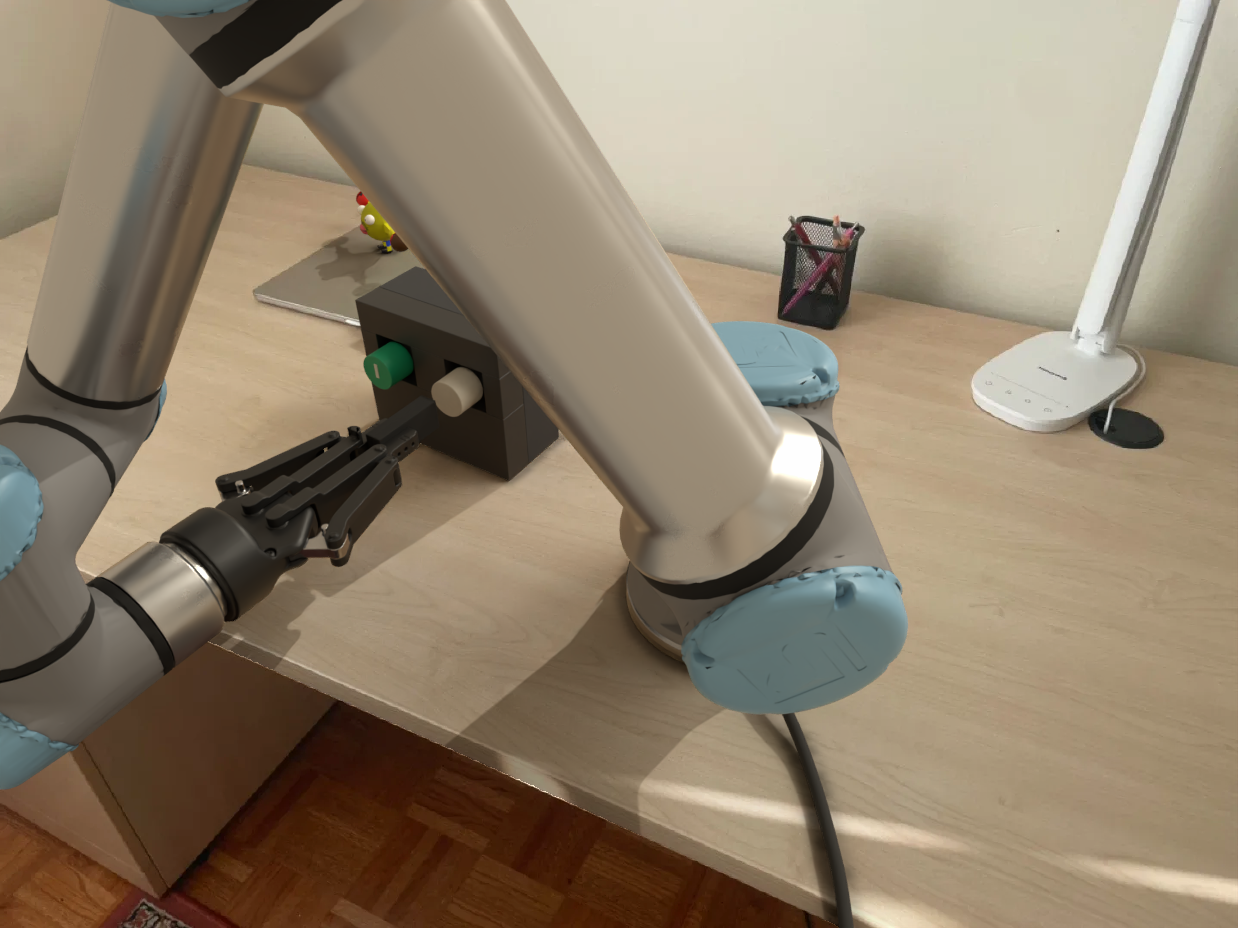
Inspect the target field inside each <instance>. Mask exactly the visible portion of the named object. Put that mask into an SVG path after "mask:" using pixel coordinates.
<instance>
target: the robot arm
mask: <svg viewBox="0 0 1238 928" xmlns="http://www.w3.org/2000/svg"><path fill="white" fill-rule="evenodd" d="M106 1H107V2H109V3H108V8H107V11H106V12H107V13H106V16H105V21H104V25H103V29H102V33H101V37H100V41H99V45H98V49H97V53H96V58H95V61H94V66H93V69H92V74H91V78H90V82H89V87H88V90H87V93H86V98H85V102H84V106H83V110H82V115H81V118H80V119H81V120H80V123H79V127H78V131H77V135H76V139H75V143H74V147H73V151H72V155H71V160H70V163H69V168H68V172H67V176H66V179H65V184H64V188H63V191H62V196H61V201H60V203H59V204H60V205H59V208H58V213H57V217H56V220H55V224H54V228H53V233H52V237H51V241H50V245H49V249H48V253H47V258H46V262H45V264H44V265H45V266H44V269H43V274H42V278H41V281H40V286H39V290H38V295H37V298H36V302H35V306H34V311H33V315H32V319H31V323H30V327H29V331H28V336H27V340H26V350H25V352H24V354H23V358H22V362H21V366H20V370H19V373H18V377H17V382H16V385H15V387H14V390H13V392H12V395H11V397H10V398H9V400H8V402H6V404H5V406H3V408H2V409H1V410H0V790H11V789H13V788H17V787H18V786H20V785H22V784H24V783H26V782H27V781H28V780H30V779H31V778H33V777H34V776H36V775H37V774H39V773H40V772H42V771H43V770H45V769H46V768H48V767H49V766H51V765H52V764H53V763H55V762H57V761H58V760H59V759H61V758H62V757H63V756H65V755H66V754H68V753H69V752H74V751H75V750H76V749H77V748H78V747H79V746H80V744H81V743H82V742H83V741H85V739H86V738H88V737H90V735H91V734H93V733H94V732H95V731H97V730H98V729H99V728H100V727H101V726H103V725H104V724H105V723H106V722H108V721H109V720H110V719H112V718H113V717H114V716H115V715H116V714H118V713H119V712H121V710H123V709H124V708H125V707H126V706H128V705H130V703H132V702H133V701H134V700H135V699H137V698H138V697H139V696H141V695H142V694H143V693H144V692H145V691H147V690H148V689H149V688H151V686H153V685H154V684H156V683H157V682H158V681H159V680H160V679H162V678H163V677H164V676H166V675H167V674H168V673H170V672H171V671H172V670H173V669H175V668H176V667H178V666H179V665H180V664H181V663H183V662H184V661H185V660H187V658H190V656H191V655H193V654H194V653H195V652H196V651H198V650H199V649H200V648H202V647H203V646H205V645H206V644H207V643H208V642H209V641H211V640H212V639H213V638H215V637H216V636H217V635H219V634H220V633H221V632H223V629H224V626H225V623H227V622H228V623H229V622H231V623H232V622H236V621H238V619H240V618H241V617H242V616H243V615H245V614H246V613H247V612H249V611H250V610H251V609H252V608H254V607H255V606H256V605H258V604H259V603H260V602H262V601H263V600H264V599H265V598H267V597H268V596H269V595H270V594H271V593H272V591H273V590H274V588H275V586H276V584H277V582H278V580H279V579H280V577H282V575H284V574H285V573H286V572H289V571H291V570H294V569H297V568H300V567H301V566H303V565H305V564H306V563H307V561H309V559H329V560H330V564H331V565H332V566H333V567H334V568H335V567H336V568H341V567H344V566H346V565H347V564H348V563H349V561H350V558H351V554H352V551H353V547H354V544H356V542H357V541H358V540H359V538H360V537H362V535H363V534H364V533H365V532H366V530H367V529H368V528H369V526H371V524H372V523H373V522H374V520H375V519H376V518H377V517H378V516H379V514H381V512H382V511H383V510H384V509H385V507H386V506H387V505H388V504H389V502H390V501H392V499H393V498H394V496H395V495H396V494H397V493H398V492H399V491H400V489H401V488H402V487H403V479H402V473H401V469H400V462H402V461H403V460H404V459H406V458H407V457H408V456H409V455H411V454H412V453H414V452H415V451H416V450H417V449H418V448H419V447H420V443H419V442H420V441H421V440H423V439H424V438H425V437H427V436H428V435H429V434H431V433H432V432H433V431H435V430H436V429H437V428H439V422H438V415H437V408H436V402H435V400H433V399H430V398H428V397H425V396H423V395H421V396H420V397H418V398H417V399H416V400H414V401H413V402H411V403H410V404H408V405H407V406H406V407H404V408H403V409H401V410H400V411H398V412H397V413H395V414H394V415H393V416H391V417H390V418H388V419H387V418H385V419H382V420H379V419H378V421H377V422H375V423H373V424H372V425H371V426H369V427H368V428H366V429H365V430H364V431H362V430H361V427H360V426H359V425H349V426H348V427H347V428H346V429H347V434H348V435H347V436H342V435H341V433H340V432H339V431H338V430H333V429H332V430H329V431H326V432H324V433H322V434H320V435H318V436H315V437H313V438H311V439H309V440H307V441H304V442H302V443H300V444H298V445H296V446H294V447H291V448H289V449H287V450H285V451H282V452H280V453H278V454H276V455H274V456H272V457H269V458H268V459H265V460H264V461H261V462H259V463H256V464H255V465H252V466H250V467H248V468H246V469H241V470H237V471H233V472H228V473H225V474H220V475H219V476H217V477H216V478H215V480H214V482H215V483H214V484H215V486H216V488H217V491H218V493H219V494H218V495H219V497H220V500H221V501H220V503H217V505H215V507H212V506H205V507H201V508H198V509H197V510H196V511H194V512H193V513H191V514H189V515H188V516H186V517H185V518H183V519H182V520H180V521H179V522H177V523H176V524H174V525H172V526H171V527H170V528H167V530H165V531H163V532H162V533H161V534H160V536H159V540H158V542H157V541H147V542H146V543H143V544H142V545H141V546H139V547H138V548H136V549H135V550H134V551H132V552H131V553H129V554H128V555H126V556H124V557H123V558H121V559H120V560H119V561H117V562H115V563H114V564H113V565H111V566H110V567H108V568H107V569H105V570H103V571H102V572H101V573H99V574H98V575H97V576H95V577H94V578H93V579H91V580H89V581H88V582H87V583H86V582H85V580H84V578H83V576H82V574H81V571H80V570H79V568H78V565H77V561H76V559H77V554H78V552H79V551H80V549H81V547H82V545H83V544H84V543H85V540H86V539H87V537H88V536H89V534H90V532H91V531H92V529H93V528H94V526H95V524H96V523H97V520H98V519H99V517H100V516H101V514H102V512H103V511H104V509H105V507H106V506H107V504H108V502H109V500H110V499H111V498H112V496H113V494H114V492H115V489H116V487H117V486H118V484H119V482H120V481H121V479H122V478H123V476H124V474H125V473H126V471H127V470H128V468H129V466H130V465H131V463H132V461H133V459H134V458H135V457H136V455H137V454H138V452H139V450H140V449H141V447H142V446H143V444H144V442H146V441H147V440H149V438H150V437H151V435H152V434H153V432H154V429H155V428H156V425H157V423H158V421H159V419H160V417H161V414H162V411H163V407H164V405H165V403H166V400H167V396H168V386H167V381H166V376H167V372H168V371H169V367H170V365H171V362H172V359H173V356H174V354H175V351H176V348H177V345H178V343H179V340H180V337H181V334H182V331H183V329H184V325H185V323H186V320H187V319H188V315H189V312H190V309H191V306H192V304H193V300H194V298H195V296H196V293H197V290H198V288H199V285H200V282H201V279H202V276H203V273H204V270H205V268H206V265H207V262H208V260H209V258H210V254H211V252H212V248H213V246H214V243H215V240H216V237H217V234H218V233H219V229H220V227H221V224H222V221H223V218H224V215H225V213H226V211H227V208H228V205H229V202H230V199H231V197H232V193H233V191H234V188H235V185H236V182H237V180H238V177H239V174H240V172H241V169H242V166H243V163H244V160H245V158H246V154H247V152H248V150H249V147H250V144H251V141H252V139H253V135H254V133H255V131H256V128H257V125H258V122H259V119H260V117H261V115H262V111H263V108H264V105H268V106H273V107H279V108H285V109H286V110H288V111H289V112H291V113H292V114H293V115H294V116H296V117H298V118H299V119H300V121H302V122H303V124H304V125H305V126H306V128H307V129H308V130H309V131H310V132H311V133H312V135H313V136H314V137H315V138H316V139H317V140H318V142H320V144H321V146H323V148H324V149H325V151H327V152H328V154H329V155H330V156H331V158H333V160H334V161H335V162H336V164H337V165H338V166H339V167H340V168H341V170H342V171H344V173H345V174H346V175H347V177H348V178H349V179H350V181H351V182H352V183H353V184H354V185H355V186H356V187H357V189H358V190H359V192H360V191H361V192H362V193H363V194H364V196H365V197H366V198H367V199H368V200H369V202H370V203H371V204H372V205H373V206H374V208H375V209H376V210H377V211H378V212H379V214H380V215H381V216H382V217H383V218H384V220H385V221H386V222H387V223H388V225H389V226H390V227H391V228H392V229H393V231H394V232H395V233H396V234H397V235H398V237H399V238H400V239H401V240H402V241H403V243H404V244H405V245H406V246H407V247H408V250H409V251H410V252H411V254H412V255H413V256H414V257H415V258H416V260H418V263H420V264H421V265H422V268H423V269H426V270H427V271H428V273H429V274H430V275H431V276H432V277H433V279H434V280H435V281H436V282H437V283H438V285H439V286H440V287H441V288H442V289H443V291H444V292H445V293H446V294H447V295H448V297H449V298H450V299H451V300H452V302H453V303H454V304H455V305H456V306H457V308H458V309H459V310H460V311H461V312H462V314H463V315H464V316H465V317H466V318H467V320H468V321H469V322H470V323H471V324H472V326H473V327H474V328H475V329H476V330H477V332H478V333H479V334H480V335H481V336H482V338H483V339H484V340H485V341H486V343H487V344H488V345H489V346H490V347H491V349H492V350H493V351H494V352H495V353H496V355H497V356H498V357H499V358H500V359H501V361H502V362H503V363H504V364H505V365H506V367H507V368H508V369H509V370H510V371H511V373H512V374H513V375H514V376H515V377H516V379H517V380H518V381H519V382H520V383H521V385H522V386H523V387H524V388H525V390H526V391H527V392H528V393H529V394H530V396H531V397H532V398H533V399H534V400H535V402H536V403H537V404H538V405H539V406H540V408H541V409H542V410H543V411H544V412H545V414H546V415H547V416H548V417H549V418H550V420H551V421H552V422H553V423H554V424H555V426H556V427H557V428H558V429H559V433H561V434H562V436H563V437H564V438H565V439H566V440H567V442H568V443H569V444H570V445H571V447H573V449H574V450H575V451H576V452H577V453H578V455H579V456H580V457H581V459H582V460H583V461H584V462H585V463H586V464H587V466H588V467H589V468H590V469H591V471H592V472H593V473H594V474H595V476H596V477H597V478H598V479H599V480H600V481H601V483H602V484H603V485H604V486H605V487H606V489H607V490H608V491H609V492H610V493H611V494H612V496H613V497H614V499H616V501H617V502H618V503H619V504H620V505H621V507H622V510H621V514H620V518H619V528H618V529H619V531H618V532H619V540H620V543H621V546H622V550H623V551H624V554H625V556H626V557H627V558H628V560H629V562H628V566H627V570H626V580H625V581H626V583H625V584H626V586H625V587H626V588H625V597H626V605H627V610H628V612H629V616H630V618H631V619H632V621H633V624H634V625H635V627H636V628H637V630H638V631H639V632H640V633H641V635H642V636H643V637H644V638H645V639H646V640H647V641H648V642H649V643H650V644H651V645H653V647H655V648H656V649H657V650H658V651H660V652H662V653H663V654H665V655H666V656H668V657H670V658H672V659H674V660H675V661H679V662H681V663H682V664H685V666H686V669H687V673H688V676H689V679H690V681H691V683H692V685H693V686H694V688H695V689H696V690H697V691H698V692H699V693H700V694H701V695H702V696H703V697H704V698H705V699H706V700H708V701H710V702H712V703H713V704H715V705H717V706H719V707H722V708H724V709H725V710H726V709H727V710H730V711H733V712H736V713H737V712H738V713H742V714H748V715H756V716H757V715H781V716H782V718H783V720H784V722H785V725H786V727H787V730H788V731H789V733H790V737H791V739H792V741H793V743H794V747H795V750H796V752H797V755H798V758H799V761H800V764H801V766H802V770H803V773H804V776H805V778H806V782H807V784H808V789H809V792H810V795H811V798H812V801H813V805H814V808H815V813H816V815H817V819H818V823H819V827H820V831H821V835H822V840H823V843H824V848H825V851H826V854H827V855H826V856H827V860H828V864H829V865H828V866H829V869H830V874H831V880H832V885H833V891H834V897H835V905H836V914H837V922H838V928H855V926H854V918H853V911H852V903H851V902H852V901H851V896H850V889H849V885H848V878H847V873H846V868H845V865H844V859H843V857H842V852H841V849H840V845H839V840H838V836H837V833H836V829H835V825H834V822H833V818H832V813H831V810H830V807H829V803H828V800H827V797H826V794H825V790H824V787H823V784H822V781H821V778H820V774H819V771H818V769H817V765H816V763H815V761H814V757H813V755H812V752H811V750H810V747H809V744H808V742H807V739H806V736H805V734H804V732H803V729H802V726H801V724H800V722H799V720H798V718H797V716H796V713H801V712H806V711H807V712H808V711H811V710H814V709H818V708H821V707H825V706H828V705H830V704H833V703H836V702H839V701H841V700H844V699H845V698H848V697H850V696H852V695H854V694H856V693H858V692H859V691H861V690H863V689H865V688H866V687H867V686H869V685H870V684H872V683H873V682H874V681H876V680H877V679H879V678H880V677H881V676H882V675H883V674H884V673H885V672H886V671H887V670H888V667H889V665H890V664H891V663H893V662H894V661H895V660H896V659H897V658H898V656H899V655H900V653H901V652H902V650H903V648H904V646H905V643H906V641H907V637H908V631H909V619H908V613H907V611H906V607H905V603H904V599H903V596H902V595H903V586H902V583H901V581H900V580H899V578H898V577H897V576H896V574H895V573H894V572H893V570H892V567H891V565H890V562H889V560H888V557H887V555H886V551H885V550H884V548H883V545H882V543H881V540H880V537H879V535H878V532H877V530H876V528H875V526H874V523H873V521H872V518H871V516H870V514H869V511H868V509H867V506H866V503H865V501H864V499H863V496H862V494H861V491H860V490H859V487H858V484H857V482H856V479H855V477H854V475H853V472H852V470H851V467H850V466H849V463H848V460H847V459H846V457H845V454H844V451H843V448H842V446H841V443H840V441H839V438H838V436H837V433H836V430H835V427H834V420H833V409H834V403H835V399H836V395H837V394H838V392H839V391H840V381H839V380H838V378H839V361H838V359H837V356H836V355H835V353H834V352H833V350H832V349H831V348H830V347H829V345H827V344H826V343H825V342H824V341H822V340H820V339H819V338H817V337H816V336H814V335H812V334H810V333H807V332H805V331H802V330H799V329H796V328H792V327H789V326H786V325H782V324H777V323H771V322H763V321H751V320H729V321H719V322H718V321H717V322H712V323H711V321H710V320H709V318H708V317H707V315H706V314H705V312H704V311H703V309H702V307H701V306H700V304H699V303H698V300H697V299H696V298H695V296H694V295H693V293H692V291H691V290H690V289H689V287H688V286H687V284H686V283H685V281H684V278H683V277H682V276H681V275H680V273H679V271H678V269H677V268H676V266H675V264H674V263H673V262H672V260H671V258H670V257H669V255H668V254H667V252H666V250H665V249H664V247H663V246H662V244H661V243H660V241H659V240H658V238H657V237H656V235H655V233H654V231H653V230H652V229H651V227H650V225H649V224H648V222H647V221H646V219H645V218H644V215H643V214H642V213H641V210H639V208H638V207H637V205H636V203H635V202H634V200H633V198H632V197H631V196H630V194H629V192H628V191H627V189H626V187H625V186H624V184H623V183H622V181H621V180H620V178H619V177H618V175H617V174H616V171H615V170H614V168H613V167H612V166H611V164H610V162H609V161H608V159H607V157H606V156H605V154H604V153H603V151H602V150H601V148H600V147H599V145H598V144H597V142H596V141H595V139H594V137H593V135H592V134H591V132H590V130H589V129H588V128H587V127H586V124H585V123H584V122H583V120H582V118H581V117H580V115H579V114H578V112H577V110H576V108H575V107H574V106H573V104H572V102H571V101H570V99H569V98H568V96H567V95H566V93H565V92H564V89H562V87H561V85H560V84H559V82H558V81H557V78H555V75H554V74H553V73H552V70H550V68H549V66H548V65H547V63H546V62H545V60H544V58H543V57H542V55H541V54H540V52H539V51H538V49H537V47H536V45H535V44H534V43H533V41H532V39H531V38H530V37H529V35H528V33H527V31H526V30H525V29H524V27H523V25H522V24H521V22H520V21H519V19H518V17H517V16H516V14H515V13H514V11H513V10H512V8H511V7H510V4H509V3H508V2H507V0H106ZM325 449H326V450H325Z"/></svg>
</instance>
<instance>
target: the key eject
mask: <svg viewBox="0 0 1238 928" xmlns="http://www.w3.org/2000/svg"><path fill="white" fill-rule="evenodd" d="M431 392H432V397H433V400H435V402H436V405H437V407H438V408H439V409H440V410H441V411H442V412H443V413H445V414H446V415H448V416H452V417H456V416H459V415H460V414H462V413H463V412H464V411H466V410H467V409H468V408H470V407H471V406H472V405H474V404H475V403H476V402H478V401H479V400H480V399H481V398H482V395H483V387H482V384H481V382H480V380H479V378H478V377H477V376H476V375H475V374H474V373H473V372H472V371H471V370H469V369H467V368H465V367H458V368H456V369H454V370H453V371H452V372H450V373H449V374H447V375H446V376H444V377H443V378H442V379H440V380H439V381H437V382H436V383H435V384H434V385H433V386H432V391H431Z"/></svg>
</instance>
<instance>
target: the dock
mask: <svg viewBox="0 0 1238 928" xmlns="http://www.w3.org/2000/svg"><path fill="white" fill-rule="evenodd" d="M354 303H355V307H356V311H357V317H358V322H359V326H360V332H361V337H362V343H363V347H364V352H365V357H367V356H368V355H370V354H371V353H373V352H374V351H376V350H378V349H379V348H381V347H382V346H384V345H386V344H387V343H389V342H397V343H399V344H401V345H402V346H403V347H405V348H406V350H407V351H408V352H409V354H410V355H411V357H412V360H413V364H414V369H413V372H412V373H411V374H410V375H408V376H407V377H405V378H404V379H402V380H401V381H399V382H398V383H396V384H395V385H393V386H392V387H391V388H389V389H381V388H378V387H377V386H375V385H374V384H373V383H372V382H371V387H372V392H373V397H374V402H375V407H376V412H377V417H378V421H379V420H382V419H385V418H387V419H388V418H390V417H391V416H393V415H394V414H395V413H397V412H398V411H400V410H401V409H403V408H404V407H406V406H407V405H408V404H410V403H411V402H413V401H414V400H416V399H417V398H418V397H420V396H421V395H423V396H425V397H428V398H430V399H433V397H432V392H431V391H432V386H433V385H434V384H435V383H436V382H437V381H439V380H440V379H442V378H443V377H444V376H446V375H447V374H449V373H450V372H452V371H453V370H454V369H456V368H458V367H465V368H467V369H469V370H471V371H472V372H473V373H474V374H475V375H476V376H477V377H478V378H479V380H480V382H481V384H482V387H483V395H482V398H481V399H480V400H479V401H478V402H476V403H475V404H474V405H472V406H471V407H470V408H468V409H467V410H466V411H464V412H463V413H462V414H460V415H459V416H456V417H452V416H448V415H446V414H445V413H443V412H442V411H441V410H440V409H439V408H438V407H437V405H436V408H437V415H438V422H439V428H437V429H436V430H435V431H433V432H432V433H431V434H429V435H428V436H427V437H425V438H424V439H423V440H421V441H420V442H419V445H423V446H425V447H428V448H430V449H432V450H435V451H436V452H439V453H442V454H443V455H447V456H449V457H450V458H451V457H452V458H454V459H455V460H458V461H460V462H463V463H465V464H467V465H470V466H473V467H474V468H477V469H479V470H482V471H485V472H486V473H488V474H491V475H494V476H495V477H497V478H498V477H499V478H501V479H503V480H505V481H508V482H510V481H511V480H512V479H514V478H515V477H516V476H517V475H518V474H519V473H520V472H522V470H524V469H525V468H526V467H528V465H529V464H530V463H532V462H533V461H534V460H535V459H536V458H537V457H538V456H540V455H541V454H542V453H543V452H544V451H545V450H546V449H547V448H549V447H550V446H551V445H552V444H553V443H554V442H555V441H557V440H558V439H559V438H560V431H559V429H558V428H557V427H556V426H555V424H554V423H553V422H552V421H551V420H550V418H549V417H548V416H547V415H546V414H545V412H544V411H543V410H542V409H541V408H540V406H539V405H538V404H537V403H536V402H535V400H534V399H533V398H532V397H531V396H530V394H529V393H528V392H527V391H526V390H525V388H524V387H523V386H522V385H521V383H520V382H519V381H518V380H517V379H516V377H515V376H514V375H513V374H512V373H511V371H510V370H509V369H508V368H507V367H506V365H505V364H504V363H503V362H502V361H501V359H500V358H499V357H498V356H497V355H496V353H495V352H494V351H493V350H492V349H491V347H490V346H489V345H488V344H487V343H486V341H485V340H484V339H483V338H482V336H481V335H480V334H479V333H478V332H477V330H476V329H475V328H474V327H473V326H472V324H471V323H470V322H469V321H468V320H467V318H466V317H465V316H464V315H463V314H462V312H461V311H460V310H459V309H458V308H457V306H456V305H455V304H454V303H453V302H452V300H451V299H450V298H449V297H448V295H447V294H446V293H445V292H444V291H443V289H442V288H441V287H440V286H439V285H438V283H437V282H436V281H435V280H434V279H433V277H432V276H431V275H430V274H429V273H428V271H427V270H426V269H425V268H424V267H420V266H416V265H414V266H413V267H411V268H410V269H408V270H406V271H404V272H402V273H401V274H399V275H397V276H396V277H393V278H392V279H390V280H389V281H388V280H387V282H384V283H382V284H381V285H379V286H377V287H376V288H374V289H372V290H371V291H368V292H367V293H365V294H363V295H361V296H359V297H357V298H356V299H354Z"/></svg>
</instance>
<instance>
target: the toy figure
mask: <svg viewBox="0 0 1238 928" xmlns="http://www.w3.org/2000/svg"><path fill="white" fill-rule="evenodd" d="M355 201H356V203H357V204H358V206H357V208H356V211H357V213H358V215H360V224H359V230H360V232H361V233H362V234H363V235H367V236H368V237H370V238H371V239H373V240H375V241H380V242H381V243H382V244H377V245H376V246H377V248H378V250H380V252H381V253H382V254H390V253H393V251H395V252H398V253H402V252H406V251H408V250H409V249H408V247H407V246H406V245H405V244H404V243H403V241H402V240H401V239H400V238H399V237H398V235H397V234H396V233H395V232H394V231H393V229H392V228H391V227H390V226H389V225H388V223H387V222H386V221H385V220H384V218H383V217H382V216H381V215H380V214H379V212H378V211H377V210H376V209H375V208H374V206H373V205H372V204H371V203H370V202H369V200H368V199H367V198H366V197H365V196H364V194H363V193H362V192H361V191H360V190H359V192H358V193H357V194H356V196H355Z"/></svg>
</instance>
